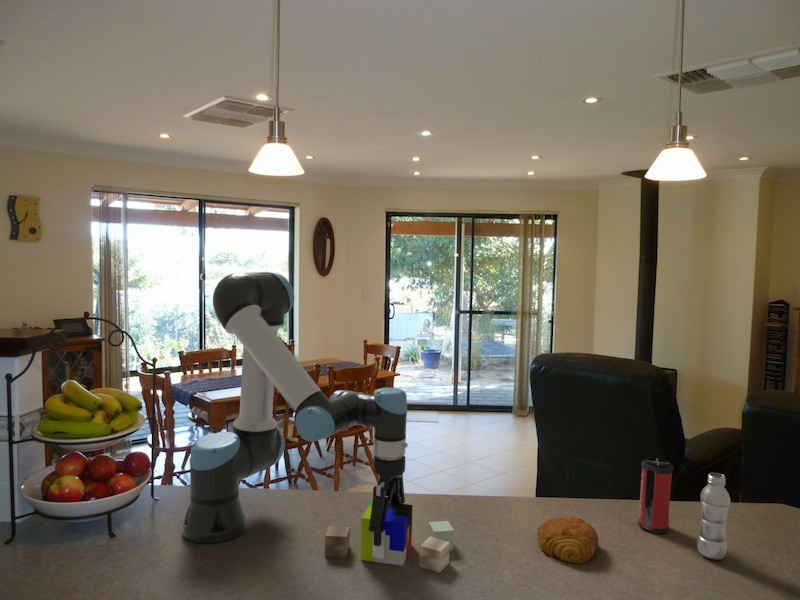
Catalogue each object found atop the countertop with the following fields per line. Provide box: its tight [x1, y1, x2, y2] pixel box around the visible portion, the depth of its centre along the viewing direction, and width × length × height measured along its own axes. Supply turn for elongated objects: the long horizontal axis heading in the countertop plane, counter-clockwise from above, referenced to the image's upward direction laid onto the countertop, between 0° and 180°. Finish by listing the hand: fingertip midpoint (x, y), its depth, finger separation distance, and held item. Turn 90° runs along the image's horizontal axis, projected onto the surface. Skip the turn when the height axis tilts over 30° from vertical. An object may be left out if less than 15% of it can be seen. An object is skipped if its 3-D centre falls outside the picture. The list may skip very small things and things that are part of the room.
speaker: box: [637, 457, 675, 534], centre depth 154 cm, size 8×8×18 cm
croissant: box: [536, 516, 599, 564], centre depth 143 cm, size 14×16×8 cm
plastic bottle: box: [696, 472, 732, 561], centre depth 140 cm, size 6×7×20 cm
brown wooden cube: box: [324, 525, 351, 558], centre depth 138 cm, size 5×5×5 cm
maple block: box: [419, 537, 450, 574], centre depth 133 cm, size 5×5×5 cm
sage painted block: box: [427, 520, 455, 551], centre depth 142 cm, size 5×5×5 cm
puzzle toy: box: [360, 499, 413, 567], centre depth 138 cm, size 10×10×10 cm
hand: (387, 546), depth 138 cm, fingers closed on puzzle toy, 10 cm apart
